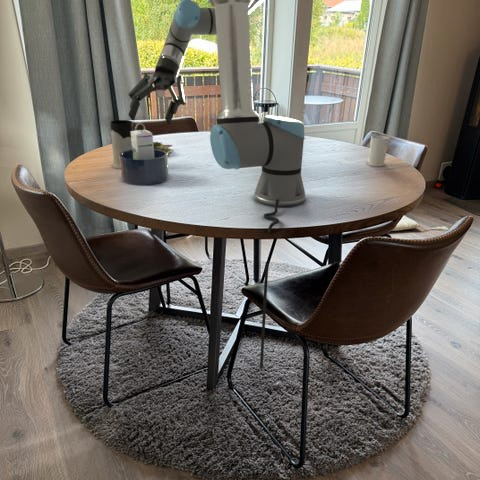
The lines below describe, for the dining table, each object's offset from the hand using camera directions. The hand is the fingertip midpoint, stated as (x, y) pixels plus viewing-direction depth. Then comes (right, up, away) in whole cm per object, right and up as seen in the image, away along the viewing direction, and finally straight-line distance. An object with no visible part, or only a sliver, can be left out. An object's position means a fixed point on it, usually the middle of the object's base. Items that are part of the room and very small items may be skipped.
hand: (149, 119), depth 161 cm
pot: (-2, -18, +6) cm, 19 cm away
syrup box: (-2, -17, +6) cm, 18 cm away
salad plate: (-7, +1, +35) cm, 36 cm away
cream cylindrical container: (+82, -6, +29) cm, 87 cm away
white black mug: (-10, -8, +21) cm, 25 cm away
